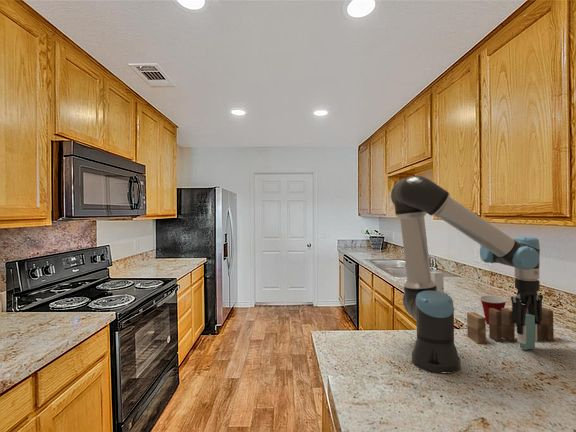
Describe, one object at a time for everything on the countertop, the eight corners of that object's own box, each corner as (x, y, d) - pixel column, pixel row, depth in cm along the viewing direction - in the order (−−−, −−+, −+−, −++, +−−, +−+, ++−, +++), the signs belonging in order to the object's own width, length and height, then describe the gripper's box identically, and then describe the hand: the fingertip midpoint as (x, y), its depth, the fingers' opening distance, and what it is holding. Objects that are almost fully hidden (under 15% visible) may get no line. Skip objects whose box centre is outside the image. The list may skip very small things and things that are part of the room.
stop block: (478, 343, 131) (477, 318, 131) (467, 336, 139) (467, 312, 139) (485, 343, 131) (485, 318, 131) (474, 336, 139) (474, 312, 139)
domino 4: (534, 347, 125) (534, 315, 125) (525, 349, 123) (525, 316, 123) (529, 345, 126) (529, 314, 126) (519, 347, 125) (519, 315, 125)
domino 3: (535, 341, 132) (534, 311, 132) (526, 337, 137) (526, 307, 137) (540, 341, 132) (540, 311, 132) (531, 337, 137) (531, 307, 137)
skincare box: (435, 297, 203) (434, 273, 203) (426, 295, 209) (426, 271, 209) (444, 296, 207) (444, 271, 207) (436, 294, 213) (435, 270, 213)
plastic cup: (477, 325, 153) (477, 298, 153) (481, 318, 161) (481, 293, 161) (506, 329, 146) (505, 301, 146) (508, 323, 155) (508, 296, 155)
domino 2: (509, 342, 132) (509, 311, 132) (501, 337, 137) (501, 308, 137) (514, 342, 132) (514, 311, 132) (506, 337, 137) (506, 307, 137)
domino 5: (548, 341, 132) (547, 311, 132) (539, 337, 137) (538, 307, 137) (553, 341, 132) (553, 310, 132) (544, 337, 137) (543, 307, 137)
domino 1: (496, 342, 132) (496, 311, 132) (489, 337, 137) (488, 308, 137) (501, 342, 132) (501, 311, 132) (494, 337, 137) (493, 308, 137)
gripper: (519, 282, 118) (519, 348, 118) (554, 279, 124) (554, 342, 124) (499, 278, 125) (499, 341, 125) (533, 275, 131) (534, 335, 131)
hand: (527, 341), depth 125 cm, fingers closed on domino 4, 5 cm apart
